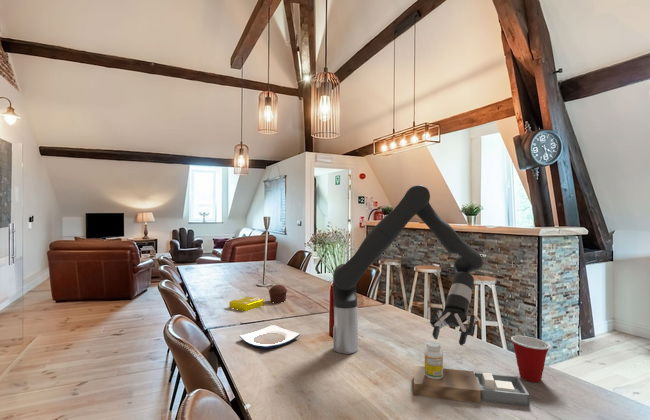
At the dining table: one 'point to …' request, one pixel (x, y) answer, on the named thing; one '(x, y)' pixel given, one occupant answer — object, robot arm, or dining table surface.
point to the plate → (271, 329)
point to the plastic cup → (530, 357)
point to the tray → (503, 396)
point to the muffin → (277, 293)
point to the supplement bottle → (433, 361)
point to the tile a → (488, 381)
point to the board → (447, 385)
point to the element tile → (246, 303)
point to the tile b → (504, 386)
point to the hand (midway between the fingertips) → (447, 341)
